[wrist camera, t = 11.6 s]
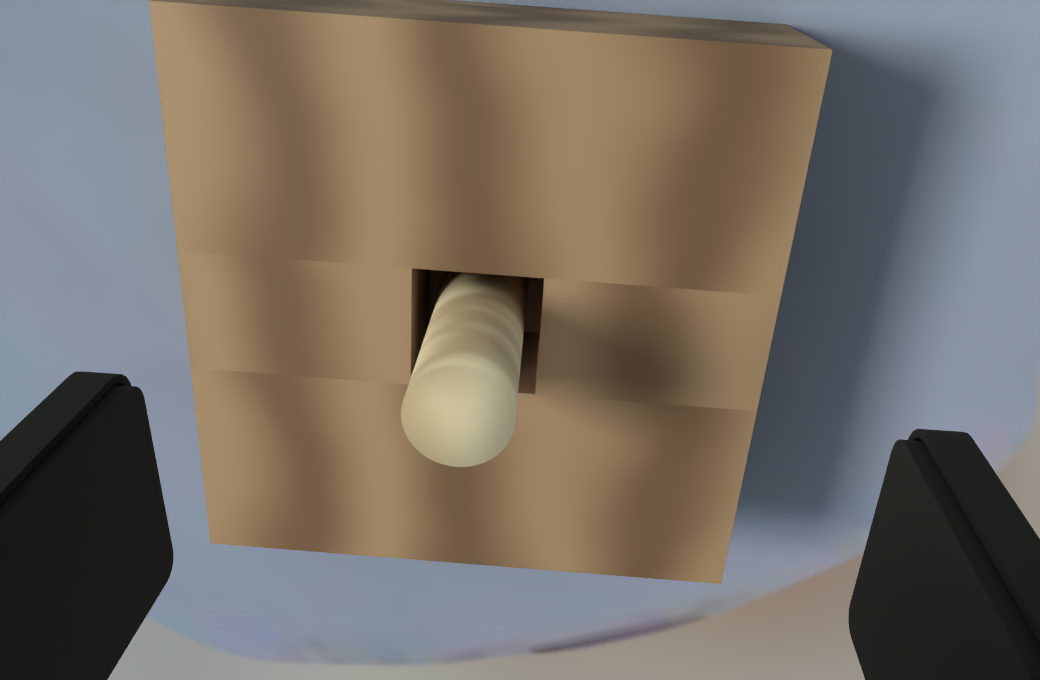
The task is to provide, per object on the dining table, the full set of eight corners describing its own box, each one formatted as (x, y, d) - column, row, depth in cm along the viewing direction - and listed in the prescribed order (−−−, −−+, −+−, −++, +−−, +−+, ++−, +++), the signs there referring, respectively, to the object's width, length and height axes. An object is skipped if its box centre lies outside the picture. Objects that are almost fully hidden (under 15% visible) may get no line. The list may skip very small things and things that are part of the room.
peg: (531, 242, 34) (518, 371, 24) (526, 318, 36) (511, 470, 26) (447, 236, 34) (400, 363, 24) (446, 313, 36) (400, 463, 26)
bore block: (786, 24, 31) (832, 49, 26) (700, 492, 40) (721, 583, 35) (220, -17, 32) (149, 0, 26) (257, 457, 40) (210, 543, 35)
